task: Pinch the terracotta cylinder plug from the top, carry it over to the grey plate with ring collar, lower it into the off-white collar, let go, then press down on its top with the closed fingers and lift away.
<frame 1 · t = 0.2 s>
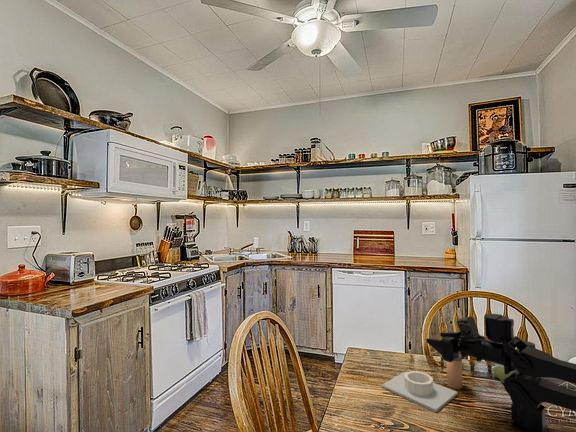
hand: (433, 337, 105), 17 cm above the table, tool horizontal, fingers open, 9 cm apart
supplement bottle: (527, 378, 110), on the table
plug: (454, 385, 106), on the table
plate with ring collar: (418, 390, 103), on the table
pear: (505, 382, 108), on the table
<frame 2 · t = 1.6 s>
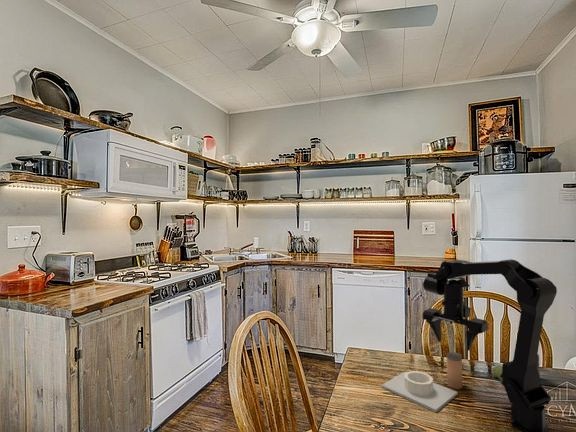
hand: (453, 345, 106), 13 cm above the table, tool pointing down, fingers open, 9 cm apart
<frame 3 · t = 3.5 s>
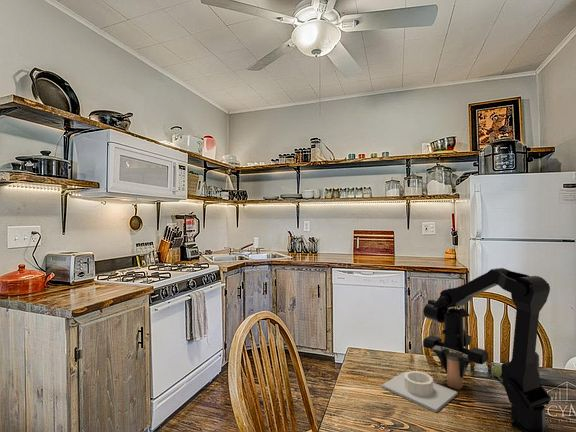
hand: (454, 374, 106), 4 cm above the table, tool pointing down, fingers closed on plug, 4 cm apart
plug: (454, 385, 106), on the table, touching gripper
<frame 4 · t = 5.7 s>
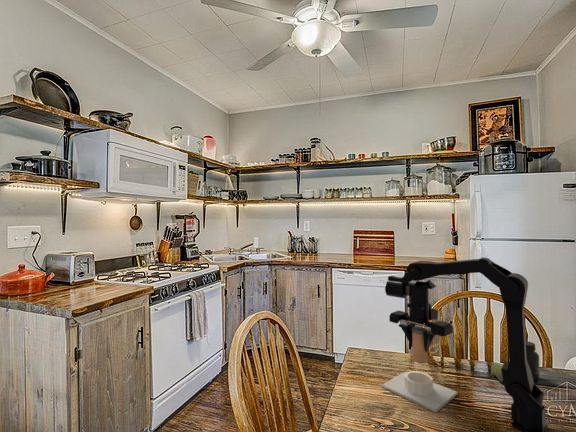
hand: (419, 349, 104), 13 cm above the table, tool pointing down, fingers closed on plug, 4 cm apart
plug: (419, 360, 104), point 10 cm above the table, touching gripper
when the fingers open (5 cm above the table, at t = 7.9 s): plug stays where it is, resting on plate with ring collar.
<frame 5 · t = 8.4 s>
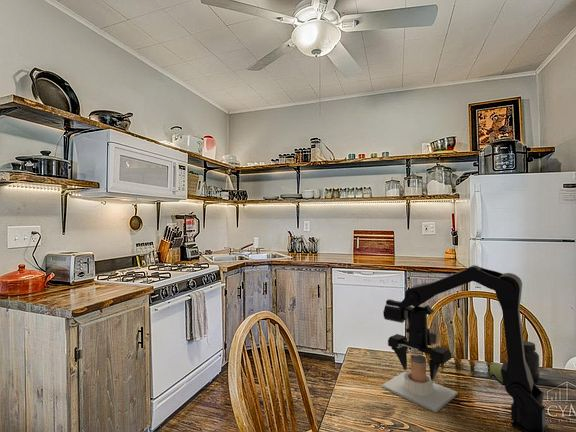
hand: (418, 374, 103), 5 cm above the table, tool pointing down, fingers open, 9 cm apart
plug: (418, 388, 103), point 1 cm above the table, touching plate with ring collar
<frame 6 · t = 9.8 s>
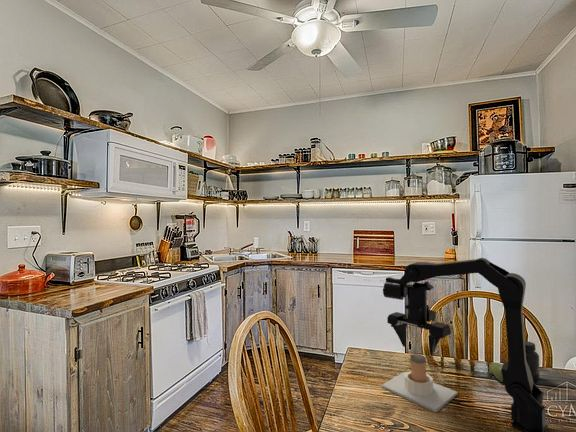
hand: (417, 350, 103), 13 cm above the table, tool pointing down, fingers open, 9 cm apart
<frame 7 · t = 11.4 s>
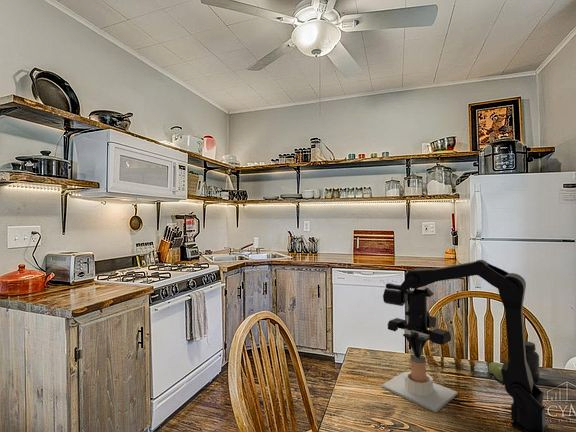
hand: (418, 357, 103), 11 cm above the table, tool pointing down, fingers closed, pressing on plug
plug: (418, 388, 103), point 1 cm above the table, touching gripper, plate with ring collar
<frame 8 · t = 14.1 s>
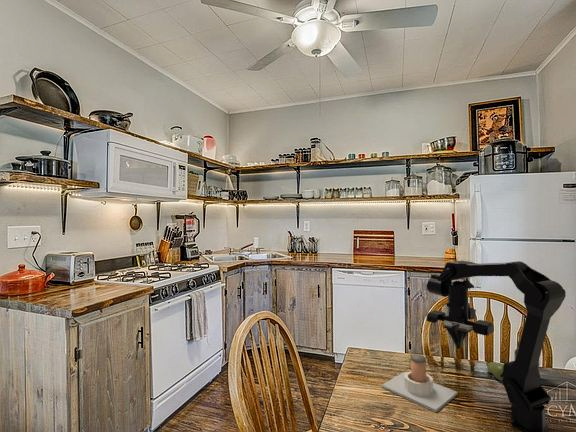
hand: (458, 348, 104), 13 cm above the table, tool pointing down, fingers closed
plug: (418, 388, 103), point 1 cm above the table, touching plate with ring collar
at the end: plug 0.1 cm off-centre on the plate with ring collar, point 0.8 cm above the plate with ring collar's base; plug tilted 0°; the gripper is holding nothing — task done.
